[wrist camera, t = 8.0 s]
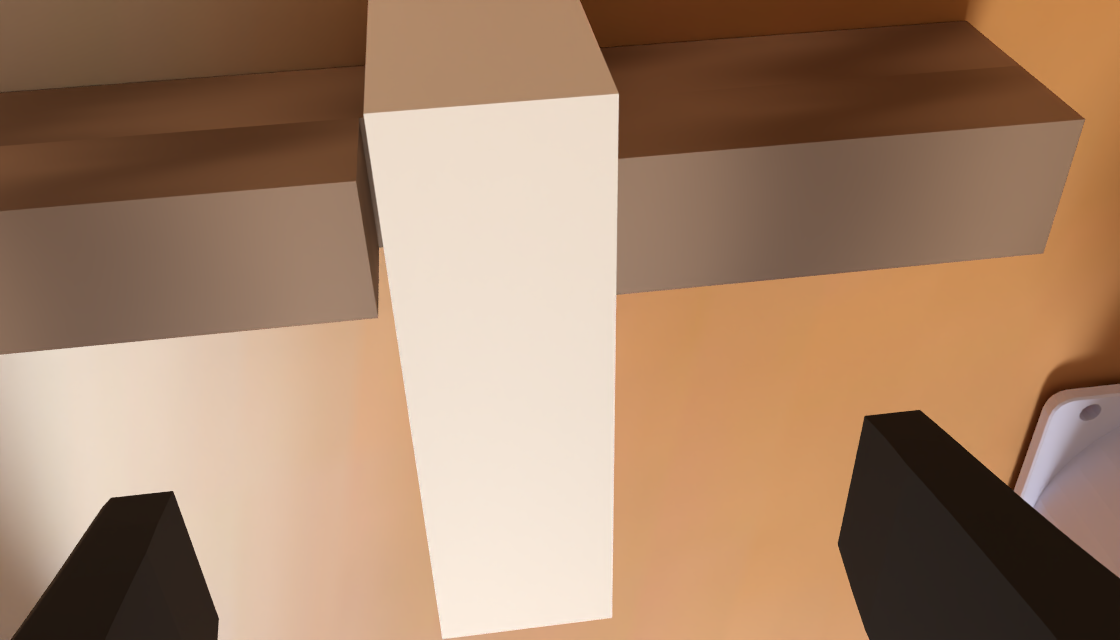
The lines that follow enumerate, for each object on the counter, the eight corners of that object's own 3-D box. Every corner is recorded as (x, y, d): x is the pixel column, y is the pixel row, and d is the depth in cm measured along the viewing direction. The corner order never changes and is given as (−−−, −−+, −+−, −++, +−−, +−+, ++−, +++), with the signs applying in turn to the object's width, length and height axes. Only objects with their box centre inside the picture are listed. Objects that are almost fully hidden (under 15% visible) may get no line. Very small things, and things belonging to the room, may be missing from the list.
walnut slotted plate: (965, 20, 19) (1085, 119, 15) (939, 140, 20) (1043, 253, 17) (-81, 98, 17) (-190, 227, 14) (-28, 223, 18) (-114, 366, 15)
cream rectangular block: (544, 292, 21) (612, 617, 15) (425, 304, 21) (442, 638, 14) (527, -124, 16) (618, 93, 10) (373, -115, 16) (363, 113, 10)
